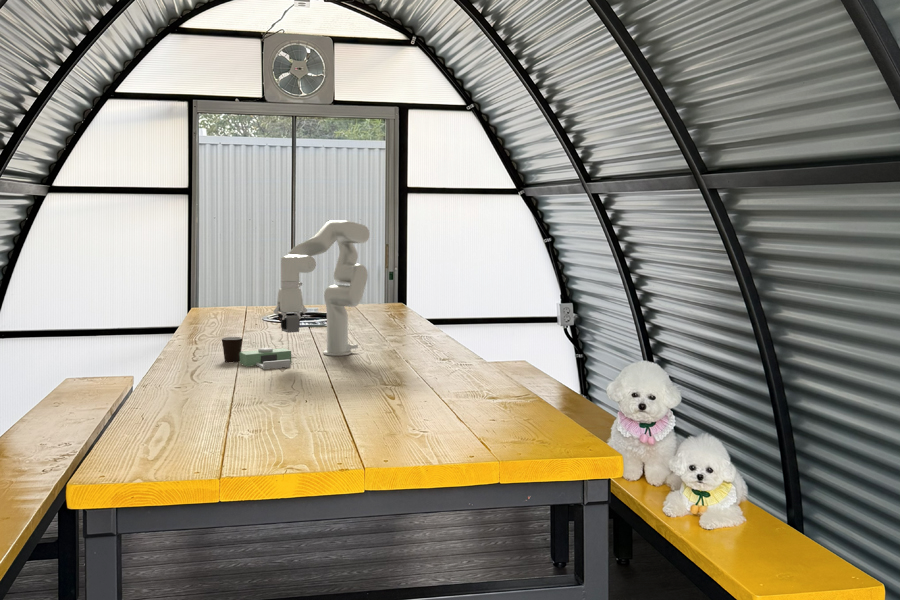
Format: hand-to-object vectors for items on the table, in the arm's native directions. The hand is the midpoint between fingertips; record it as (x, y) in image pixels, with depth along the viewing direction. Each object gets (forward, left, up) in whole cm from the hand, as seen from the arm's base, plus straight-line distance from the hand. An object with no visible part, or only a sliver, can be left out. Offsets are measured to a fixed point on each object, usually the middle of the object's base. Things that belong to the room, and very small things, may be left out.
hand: (290, 328), depth 338 cm
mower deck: (+7, -5, -16) cm, 18 cm away
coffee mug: (+17, -22, -16) cm, 32 cm away
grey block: (0, 0, -1) cm, 1 cm away
